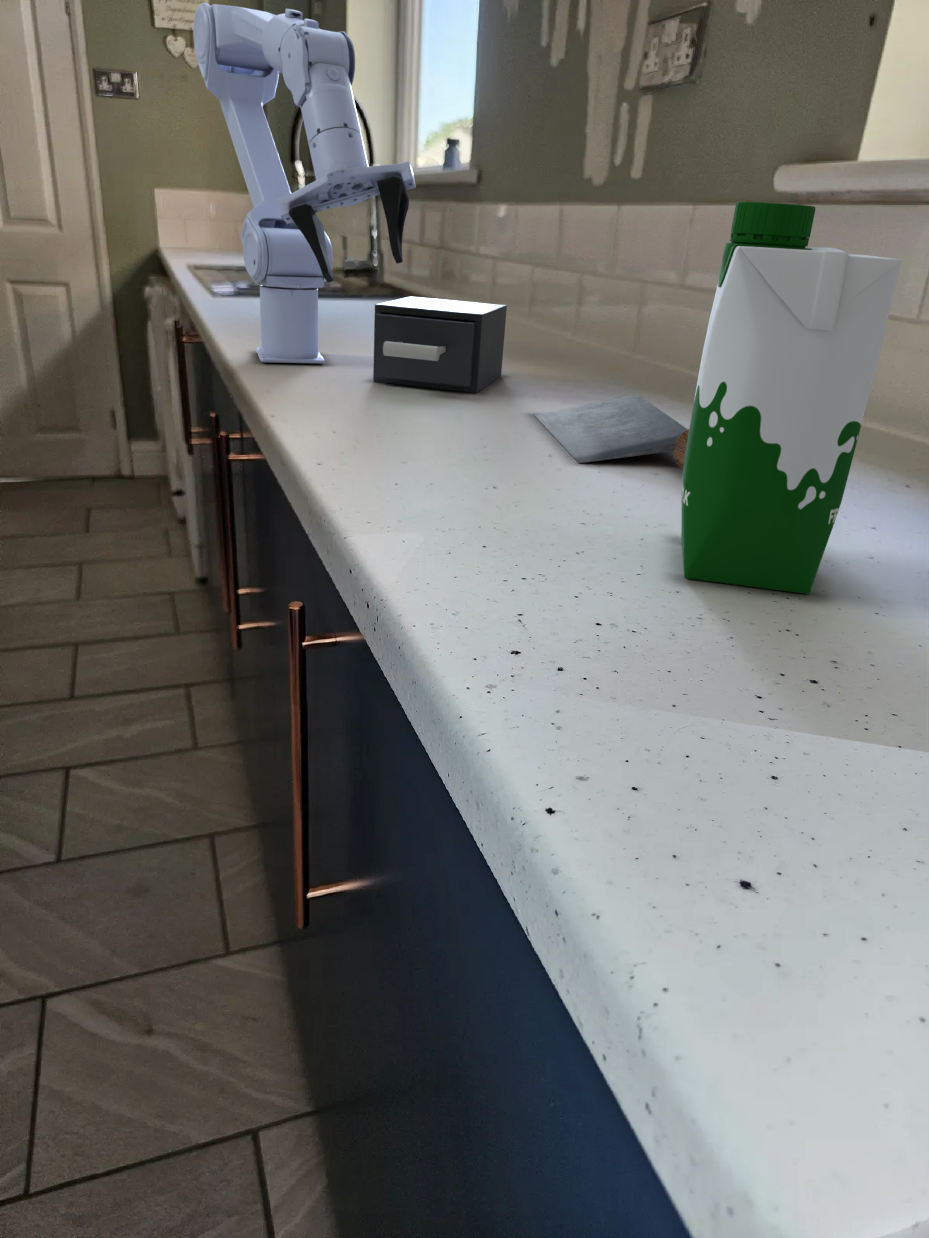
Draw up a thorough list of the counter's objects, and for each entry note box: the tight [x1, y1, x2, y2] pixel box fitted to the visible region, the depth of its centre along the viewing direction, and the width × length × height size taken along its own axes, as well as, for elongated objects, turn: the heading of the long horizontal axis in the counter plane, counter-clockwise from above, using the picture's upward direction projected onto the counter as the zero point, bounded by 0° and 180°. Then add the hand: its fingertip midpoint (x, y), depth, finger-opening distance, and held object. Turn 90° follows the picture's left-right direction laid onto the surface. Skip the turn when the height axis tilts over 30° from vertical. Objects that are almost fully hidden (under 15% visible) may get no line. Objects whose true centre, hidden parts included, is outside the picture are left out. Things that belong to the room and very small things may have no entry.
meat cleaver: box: [534, 394, 689, 470], centre depth 76 cm, size 34×11×4 cm, turn 8°
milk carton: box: [680, 201, 903, 595], centre depth 49 cm, size 9×9×20 cm
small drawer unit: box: [372, 295, 508, 394], centre depth 105 cm, size 14×13×9 cm
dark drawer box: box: [372, 313, 475, 387], centre depth 101 cm, size 17×11×7 cm, turn 166°
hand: (363, 269), depth 92 cm, fingers open, 7 cm apart
